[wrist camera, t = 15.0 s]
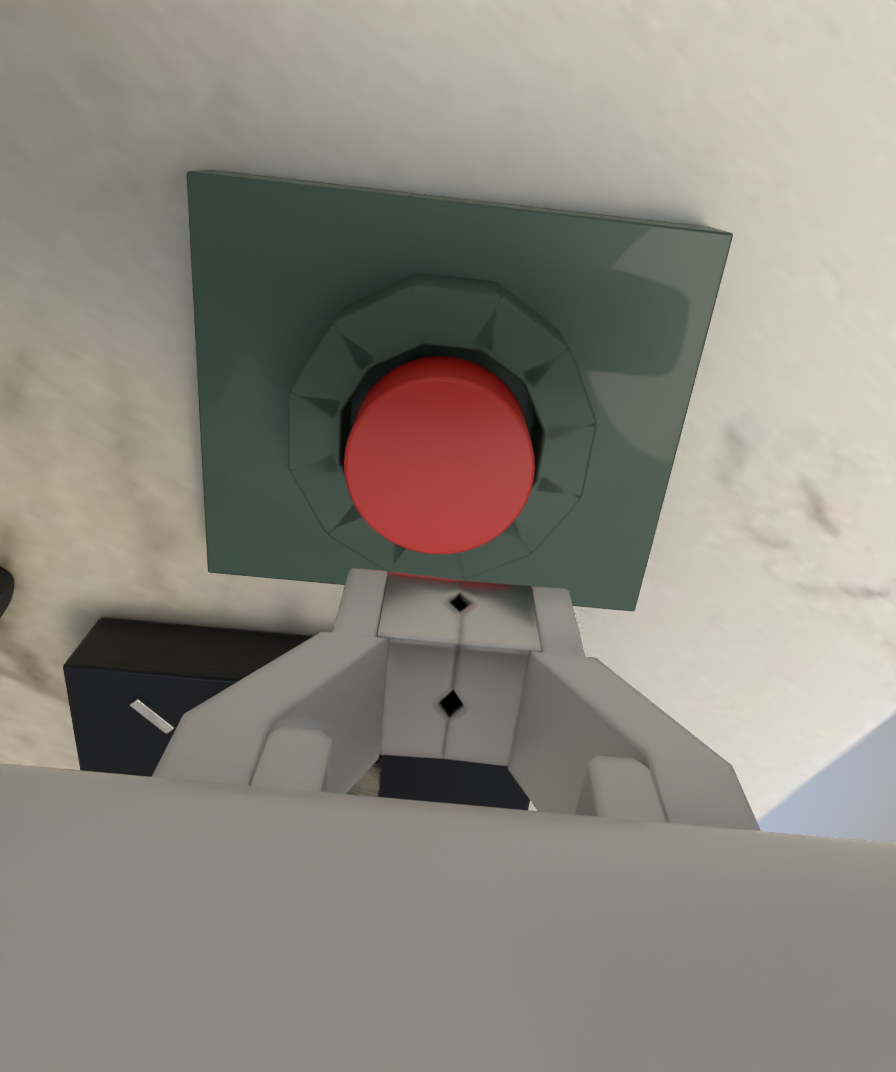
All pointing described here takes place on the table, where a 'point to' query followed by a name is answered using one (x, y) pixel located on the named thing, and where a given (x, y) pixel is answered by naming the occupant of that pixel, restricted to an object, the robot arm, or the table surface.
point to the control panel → (199, 674)
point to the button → (439, 456)
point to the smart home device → (5, 590)
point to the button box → (440, 330)
